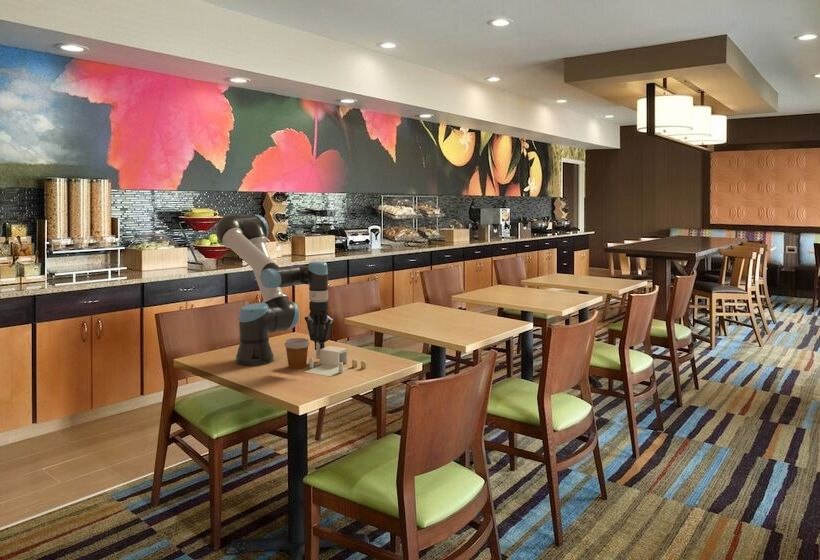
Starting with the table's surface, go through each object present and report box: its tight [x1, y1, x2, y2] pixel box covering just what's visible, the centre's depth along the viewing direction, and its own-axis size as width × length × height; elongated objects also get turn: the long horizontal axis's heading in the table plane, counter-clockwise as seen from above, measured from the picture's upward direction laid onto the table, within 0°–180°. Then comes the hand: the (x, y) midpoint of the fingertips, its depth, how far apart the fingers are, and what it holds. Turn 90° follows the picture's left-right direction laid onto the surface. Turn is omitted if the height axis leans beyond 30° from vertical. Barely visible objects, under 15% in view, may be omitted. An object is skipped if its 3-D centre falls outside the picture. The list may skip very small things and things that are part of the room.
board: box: [304, 357, 367, 377], centre depth 244 cm, size 21×19×5 cm
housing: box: [319, 345, 349, 367], centre depth 251 cm, size 9×7×6 cm
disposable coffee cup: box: [284, 337, 310, 370], centre depth 246 cm, size 10×10×12 cm
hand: (319, 358), depth 255 cm, fingers closed
